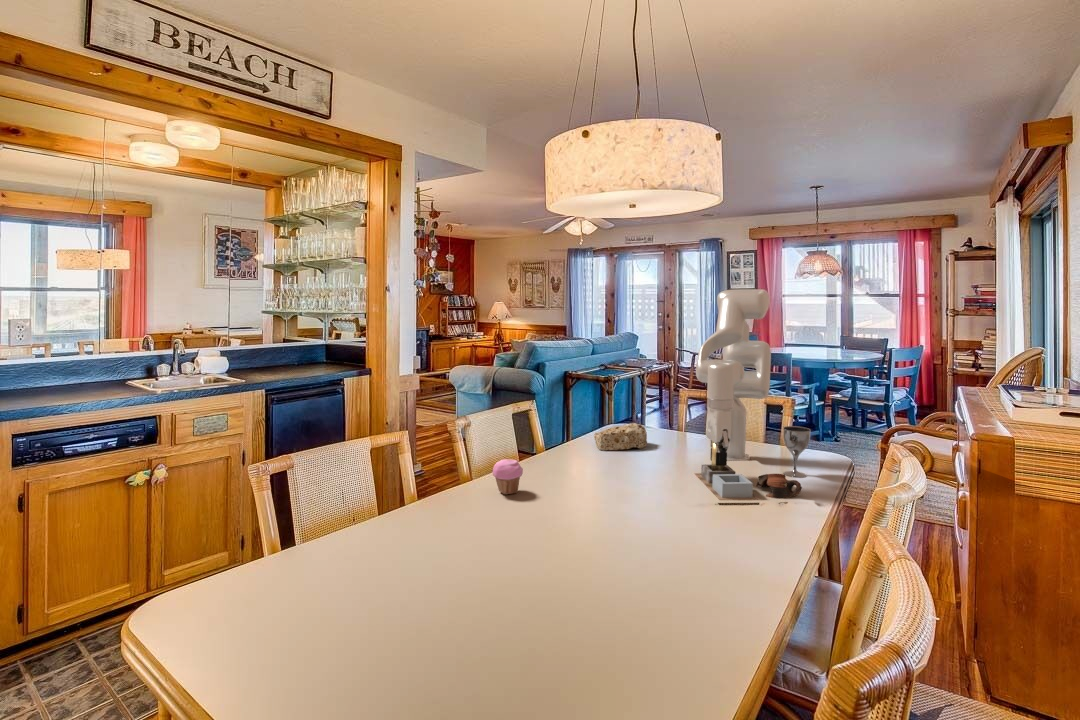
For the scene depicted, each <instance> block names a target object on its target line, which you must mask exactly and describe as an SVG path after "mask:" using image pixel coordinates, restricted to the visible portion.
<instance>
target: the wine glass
mask: <svg viewBox="0 0 1080 720" xmlns="http://www.w3.org/2000/svg"><path fill="white" fill-rule="evenodd" d="M782 433H783V434H782V438H783V439H782V440H783V443H784V446H785V447H786V449H787V450H788V451H789V452H790V453H791V455H792V458H793V470H785V471H783V472H782V474H783V475H785V476H786V477H790V478H798V479H803V478H806V477H808V475H807V474H806V473H804V472H803V471H802V472H801V471H798V470H797V464H798V459H799V456H800V455H801V454H802V453H803V452H804V451H805V450H806V449H807V448H808V446H809V444H810V440H811V428H808V427H804V426H796V425H795V426H794V425H786V426H783V428H782Z"/></svg>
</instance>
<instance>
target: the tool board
mask: <svg viewBox="0 0 1080 720" xmlns="http://www.w3.org/2000/svg"><path fill="white" fill-rule="evenodd" d="M711 466H712V463H711V464H701V467H700V468H701V472H700V473H699V472H698V473H696V472H695V473H694V475H695V476H696V477H697V479H699V481H701V483H703V484H704V485H705V486H706V488H707V489H708V490H709V491H710V492H711V493H712V494H713V495H714V496H715V497H716V498H717V499H718V500H719V501H760V498H759V497H757V496H756V495H755V494H754V493H753V494H752V498H722V497H721V496H720V495H719V494H718V493H717V492H716V491H715V490H714V489H713V488H712V484H713V474H737V473H736V471H735V470H734V469H733V468H732V467H730V466H729V465H728V464H727V465H726V466H725V471H712V470H711ZM717 505H719V506H759V505H760V502H717Z"/></svg>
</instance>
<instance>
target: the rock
mask: <svg viewBox="0 0 1080 720" xmlns="http://www.w3.org/2000/svg"><path fill="white" fill-rule="evenodd" d="M593 437H594V441H595V445H596V449H597V448H598V449H599V450H598V449H597V450H598V451H602V450H605V451H618V450H629V449H632V448H637V449H639V450H640V449H645V448H647V446H648V436H647V430H646V428H645V425H643V424H640V423H635V422H632V423H628V424H626V423H624V424H623V425H621V426H620V425H615V426H612V427H608V428H605V429H604V430H601V431H600V432H598V431H597V432H595V433H594V435H593Z"/></svg>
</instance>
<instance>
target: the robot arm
mask: <svg viewBox="0 0 1080 720" xmlns="http://www.w3.org/2000/svg"><path fill="white" fill-rule="evenodd" d="M770 302H771V299H770V294H769V292H768V291H767V290H766V289H763V288H762V289H758V288H757V289H755V288H754V289H748V288H747V289H745V288H744V289H739V288H738V289H735V288H734V289H726V290H722V291H720V292H719V293H718V294H717V296H716V304H717V309H718V314H717V320H716V321H717V322H716V329H715V330H716V331H715V332H714V333H712V334H711V335H710V336H709V337H707V339H705V341H704V342H703V343H702V344H701V347H700V348H699V350H698V354H697V360H696V364H695V377H696V379H697V380H698V381H699V382H700V383H703V384H707V391H706V393H707V394H706V395H707V396H706V399H707V400H706V409H707V414H706V425H705V437H706V438H707V439H709V441H710V461H711V462H712V442H714V443H717V452H716V465H717V466H726V465H728V464H727V463H728V462H735V461H736V462H746V461H747V462H748V461H750V459H751V458H750V455H749V454H747V453H746V441H747V439H746V438H747V436H746V435H747V415H748V414H747V409H746V406H745V405H744V403H743V402H742V401H741V399H755V400H756V399H757V400H762V399H766V398H767V397H768V396H769V393H770V388H771V387H770V385H771V383H770V382H771V366H772V364H771V361H772V352H771V346H770V344H769V343H767V342H766V341H764V340H750V326H749V323H747V321H746V320H762V319H763V318H765V316H766V315H767V312H768V311H769V308H770ZM721 349H722V359H713V358H712V359H710V358H709V357H710V356H711V355H712V354H713V353H715V352H716V351H718V350H721ZM708 358H709V359H708ZM745 368H749V369H750V368H753V369H755V370H745ZM720 440H723V442H720ZM722 444H723V445H722ZM720 445H722V446H721V447H720Z"/></svg>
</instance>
